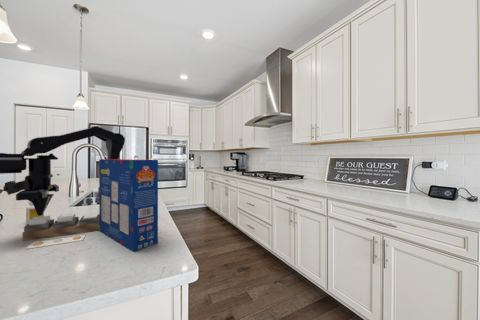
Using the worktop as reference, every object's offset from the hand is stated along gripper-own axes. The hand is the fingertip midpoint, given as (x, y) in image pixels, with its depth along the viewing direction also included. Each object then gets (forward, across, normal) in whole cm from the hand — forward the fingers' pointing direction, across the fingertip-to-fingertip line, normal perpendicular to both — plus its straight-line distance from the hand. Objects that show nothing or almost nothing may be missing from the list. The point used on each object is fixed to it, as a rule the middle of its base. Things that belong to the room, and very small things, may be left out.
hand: (40, 215), depth 73 cm
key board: (+8, 0, +7) cm, 11 cm away
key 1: (+3, 0, 0) cm, 3 cm away
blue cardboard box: (+8, +16, +28) cm, 33 cm away
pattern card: (+8, +10, +7) cm, 15 cm away
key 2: (+4, 0, +15) cm, 16 cm away
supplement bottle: (+8, -22, -8) cm, 25 cm away
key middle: (+3, 0, +7) cm, 8 cm away
